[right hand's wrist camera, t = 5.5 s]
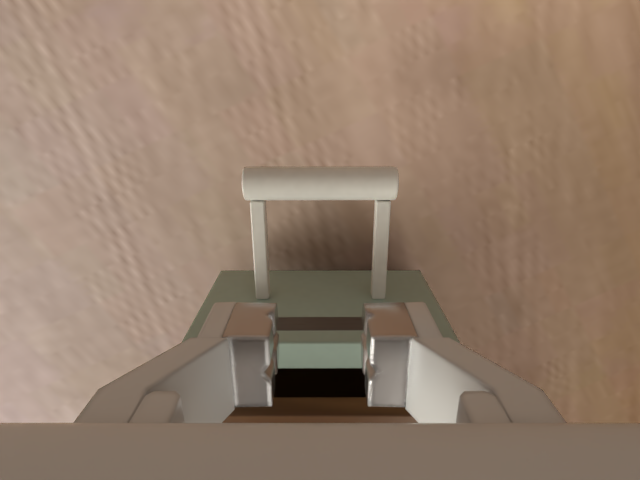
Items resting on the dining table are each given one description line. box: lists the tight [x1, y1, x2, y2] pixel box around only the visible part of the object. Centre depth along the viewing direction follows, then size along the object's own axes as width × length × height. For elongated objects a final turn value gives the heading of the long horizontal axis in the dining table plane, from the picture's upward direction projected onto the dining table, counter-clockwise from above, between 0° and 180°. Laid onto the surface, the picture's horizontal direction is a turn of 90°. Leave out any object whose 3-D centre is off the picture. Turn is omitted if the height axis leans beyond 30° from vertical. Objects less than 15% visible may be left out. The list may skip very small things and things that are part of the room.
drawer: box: [182, 167, 460, 397], centre depth 20 cm, size 25×10×6 cm, turn 0°
